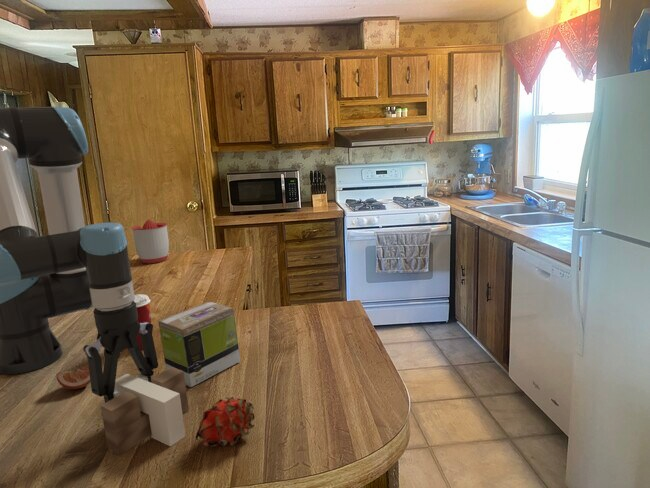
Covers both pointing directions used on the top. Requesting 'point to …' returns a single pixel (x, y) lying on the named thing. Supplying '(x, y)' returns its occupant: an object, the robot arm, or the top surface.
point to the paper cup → (142, 312)
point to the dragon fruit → (226, 422)
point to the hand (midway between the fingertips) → (132, 412)
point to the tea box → (200, 341)
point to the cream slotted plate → (156, 407)
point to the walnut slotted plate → (137, 413)
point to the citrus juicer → (151, 242)
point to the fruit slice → (74, 378)
